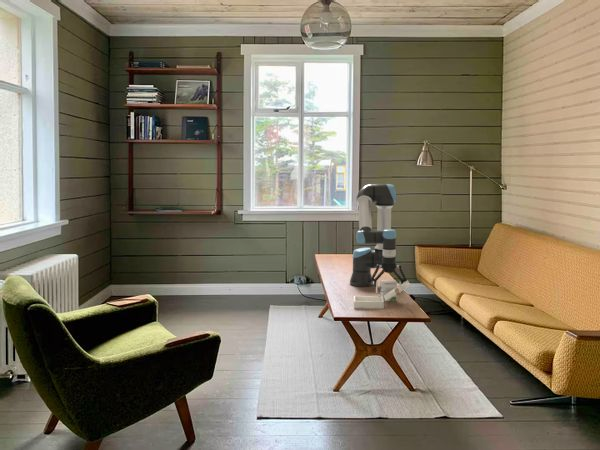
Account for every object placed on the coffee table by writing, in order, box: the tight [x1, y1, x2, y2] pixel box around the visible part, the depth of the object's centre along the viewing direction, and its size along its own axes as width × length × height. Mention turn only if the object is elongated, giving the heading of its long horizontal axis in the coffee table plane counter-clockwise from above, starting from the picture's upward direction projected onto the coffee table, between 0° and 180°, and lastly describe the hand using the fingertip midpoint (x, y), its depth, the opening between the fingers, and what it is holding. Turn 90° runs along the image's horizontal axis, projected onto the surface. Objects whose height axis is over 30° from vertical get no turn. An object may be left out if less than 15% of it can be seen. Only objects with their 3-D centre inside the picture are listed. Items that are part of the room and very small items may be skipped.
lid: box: [384, 280, 411, 302], centre depth 346 cm, size 12×16×1 cm
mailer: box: [353, 295, 385, 310], centre depth 348 cm, size 12×16×4 cm
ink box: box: [379, 279, 398, 303], centre depth 360 cm, size 8×5×12 cm, turn 101°
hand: (388, 292), depth 360 cm, fingers open, 13 cm apart
